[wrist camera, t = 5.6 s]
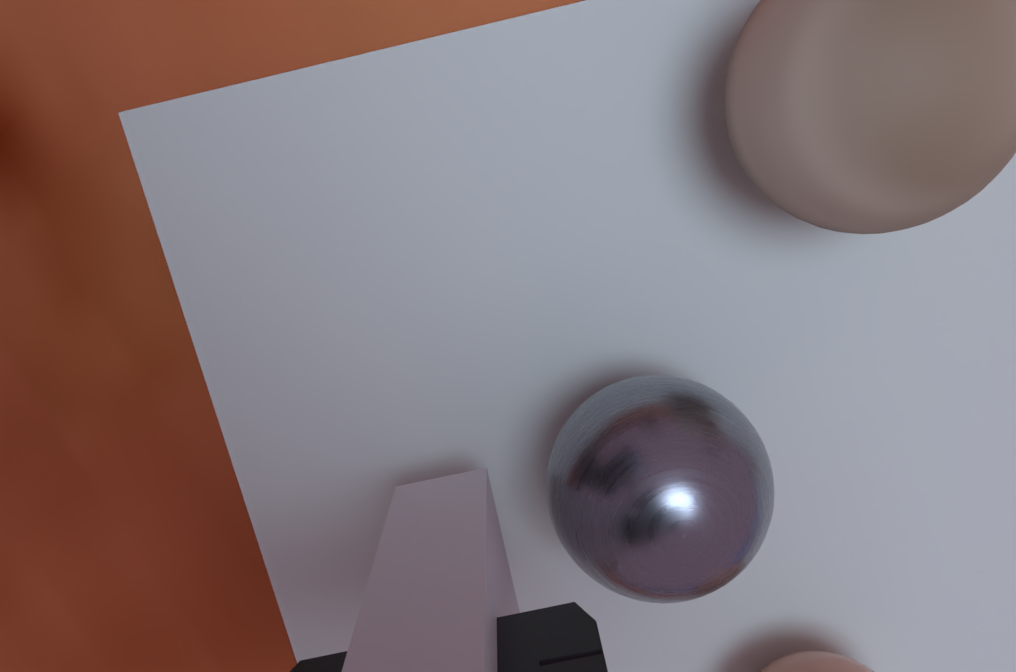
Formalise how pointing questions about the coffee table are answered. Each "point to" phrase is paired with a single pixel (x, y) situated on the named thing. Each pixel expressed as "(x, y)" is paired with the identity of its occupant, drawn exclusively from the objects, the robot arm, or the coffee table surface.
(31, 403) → the coffee table surface
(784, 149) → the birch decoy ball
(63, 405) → the coffee table surface
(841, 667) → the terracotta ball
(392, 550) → the robot arm
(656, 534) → the steel ball
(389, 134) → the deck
